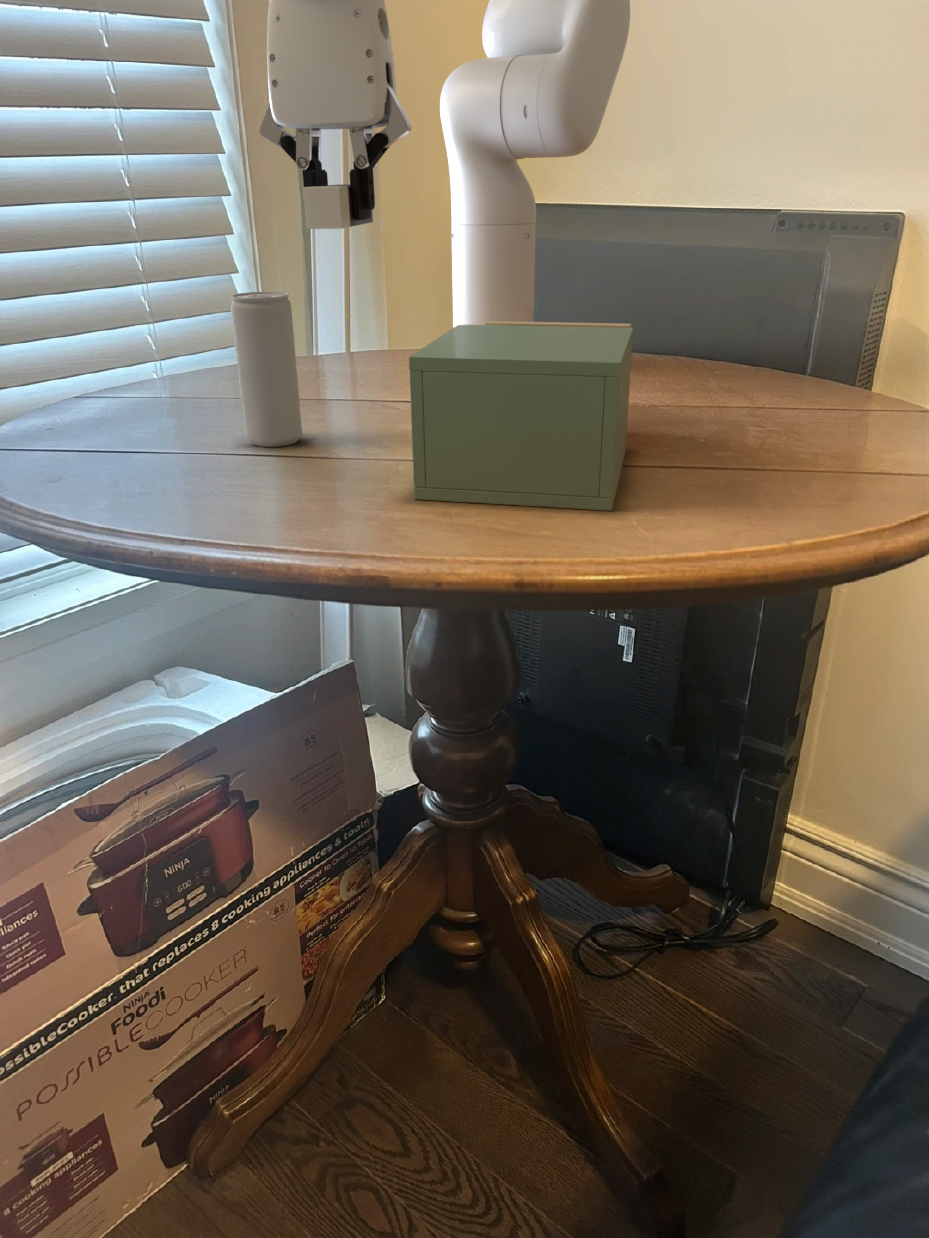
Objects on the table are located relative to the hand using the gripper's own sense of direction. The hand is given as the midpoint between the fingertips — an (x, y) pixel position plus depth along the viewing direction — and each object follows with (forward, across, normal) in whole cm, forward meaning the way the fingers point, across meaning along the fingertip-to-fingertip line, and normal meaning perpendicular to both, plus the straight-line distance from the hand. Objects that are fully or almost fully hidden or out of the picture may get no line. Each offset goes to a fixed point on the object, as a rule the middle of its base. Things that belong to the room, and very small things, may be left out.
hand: (341, 217), depth 82 cm
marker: (+1, 0, 0) cm, 1 cm away
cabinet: (+17, -20, +18) cm, 31 cm away
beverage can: (+17, +3, +12) cm, 21 cm away
